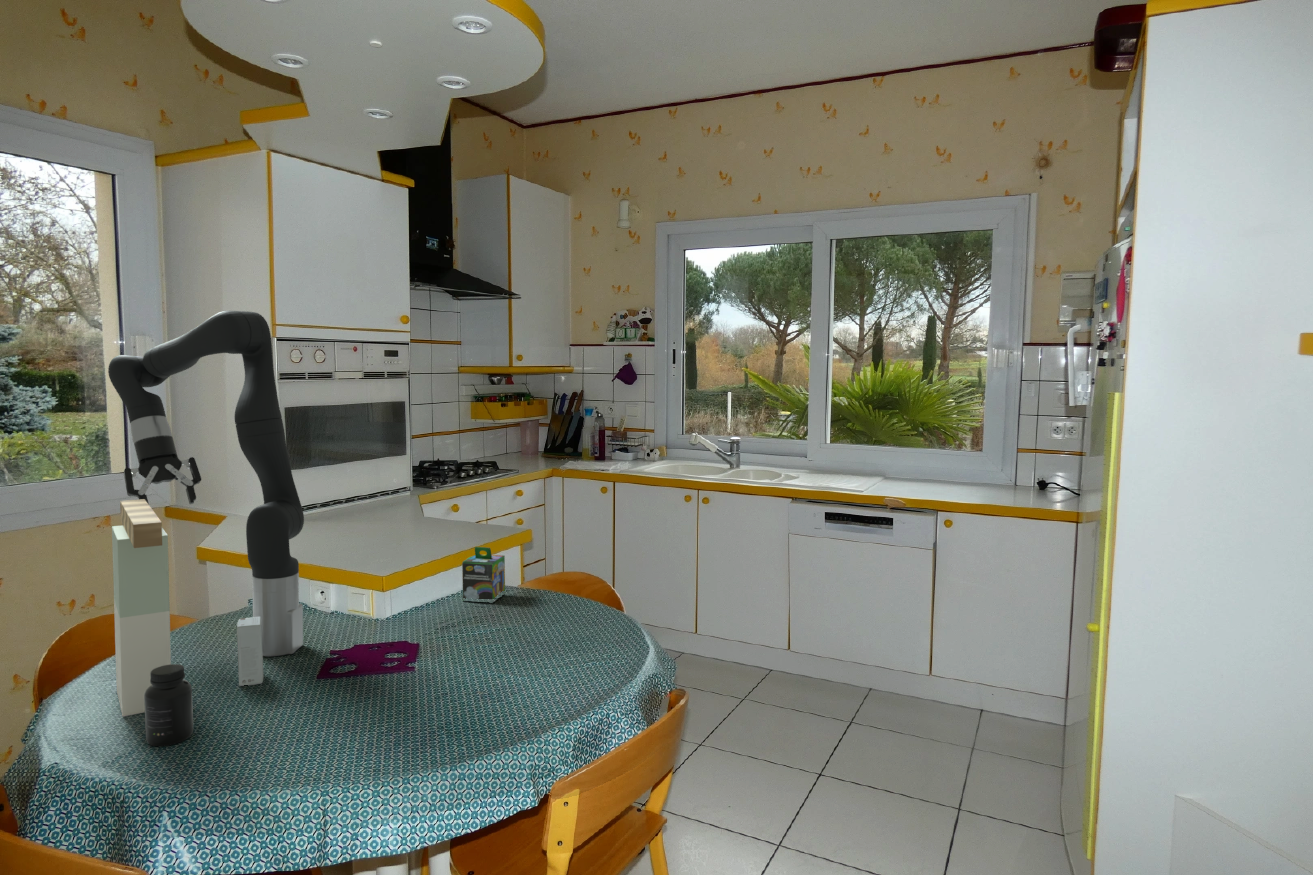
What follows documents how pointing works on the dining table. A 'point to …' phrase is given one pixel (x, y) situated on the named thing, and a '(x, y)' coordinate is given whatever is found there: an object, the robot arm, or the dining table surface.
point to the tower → (139, 616)
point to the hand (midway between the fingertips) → (170, 507)
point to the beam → (141, 523)
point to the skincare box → (250, 651)
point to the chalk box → (483, 575)
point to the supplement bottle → (168, 706)
